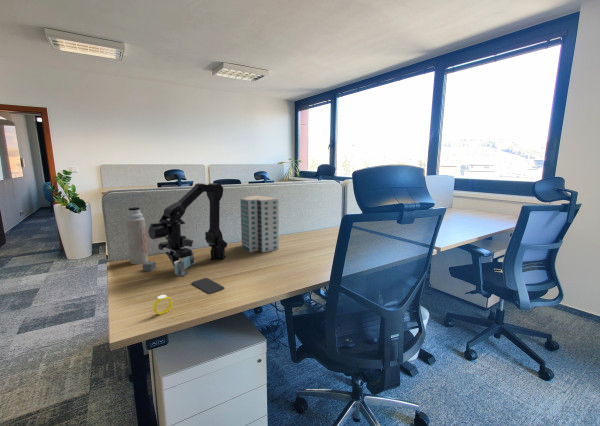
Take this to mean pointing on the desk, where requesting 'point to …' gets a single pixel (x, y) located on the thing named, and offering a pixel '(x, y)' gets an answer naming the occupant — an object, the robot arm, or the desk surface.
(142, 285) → the desk surface
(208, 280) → the phone
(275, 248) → the building model
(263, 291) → the desk surface
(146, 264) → the dark gray cube
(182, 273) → the grey block
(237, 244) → the desk surface
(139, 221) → the thermos bottle
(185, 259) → the light blue bar
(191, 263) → the post
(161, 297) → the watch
